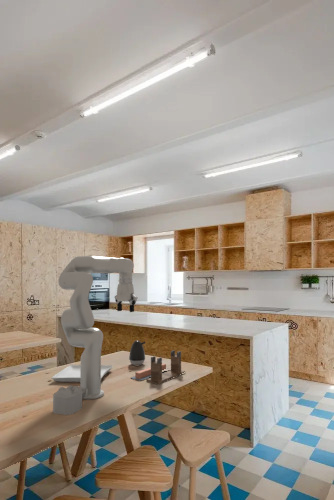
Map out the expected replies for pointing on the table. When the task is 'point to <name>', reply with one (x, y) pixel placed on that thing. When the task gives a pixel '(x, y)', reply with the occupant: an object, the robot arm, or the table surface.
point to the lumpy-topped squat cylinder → (67, 400)
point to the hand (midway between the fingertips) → (125, 311)
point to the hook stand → (175, 371)
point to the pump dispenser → (137, 353)
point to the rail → (146, 372)
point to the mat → (141, 378)
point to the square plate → (76, 373)
